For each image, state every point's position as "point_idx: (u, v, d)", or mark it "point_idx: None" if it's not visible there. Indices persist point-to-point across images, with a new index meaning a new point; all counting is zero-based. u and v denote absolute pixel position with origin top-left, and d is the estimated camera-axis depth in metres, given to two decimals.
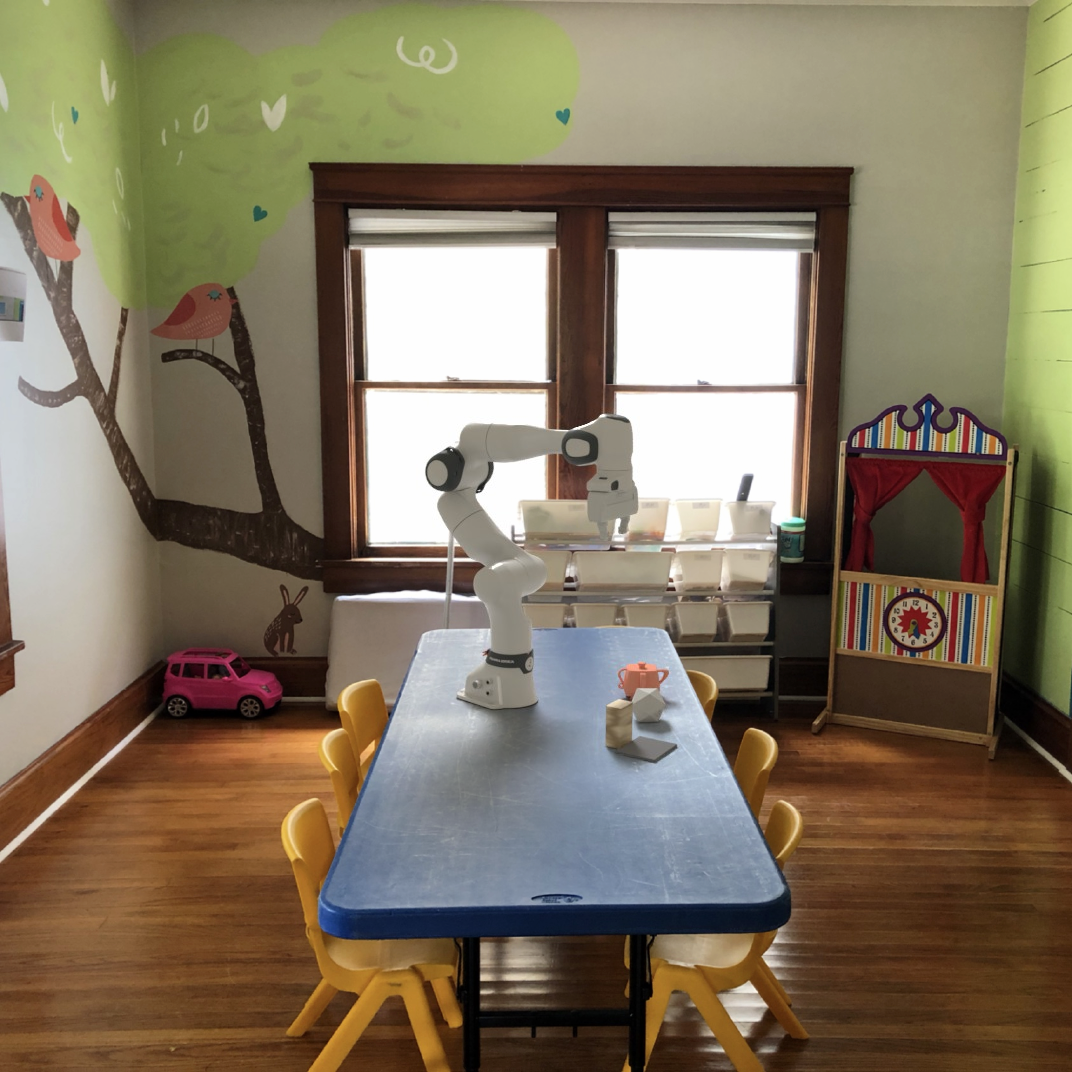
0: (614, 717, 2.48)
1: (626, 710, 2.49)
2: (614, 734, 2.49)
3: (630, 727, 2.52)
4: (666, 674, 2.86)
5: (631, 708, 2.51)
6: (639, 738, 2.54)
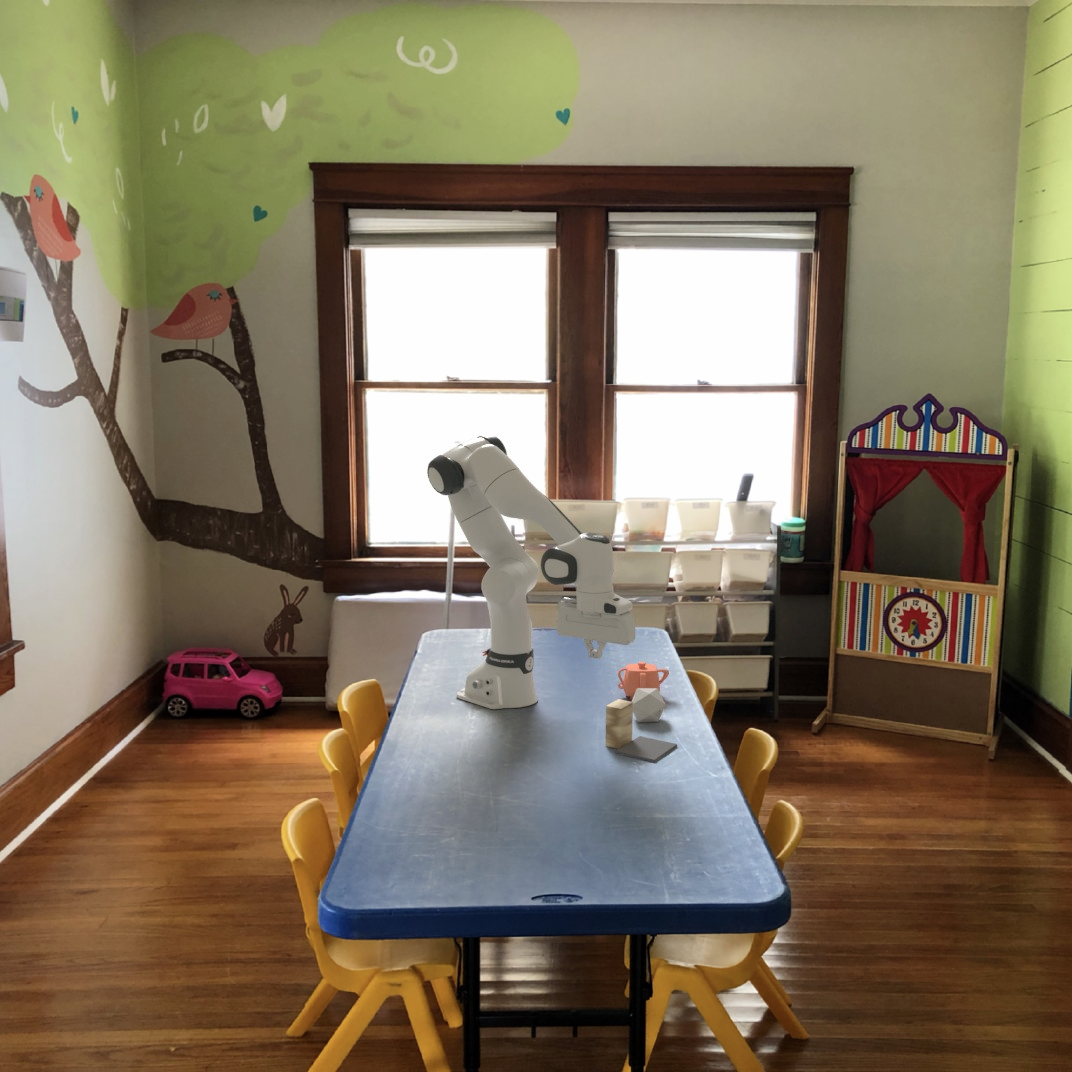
0: (614, 717, 2.48)
1: (626, 710, 2.49)
2: (614, 734, 2.49)
3: (630, 727, 2.52)
4: (666, 674, 2.86)
5: (631, 708, 2.51)
6: (639, 738, 2.54)
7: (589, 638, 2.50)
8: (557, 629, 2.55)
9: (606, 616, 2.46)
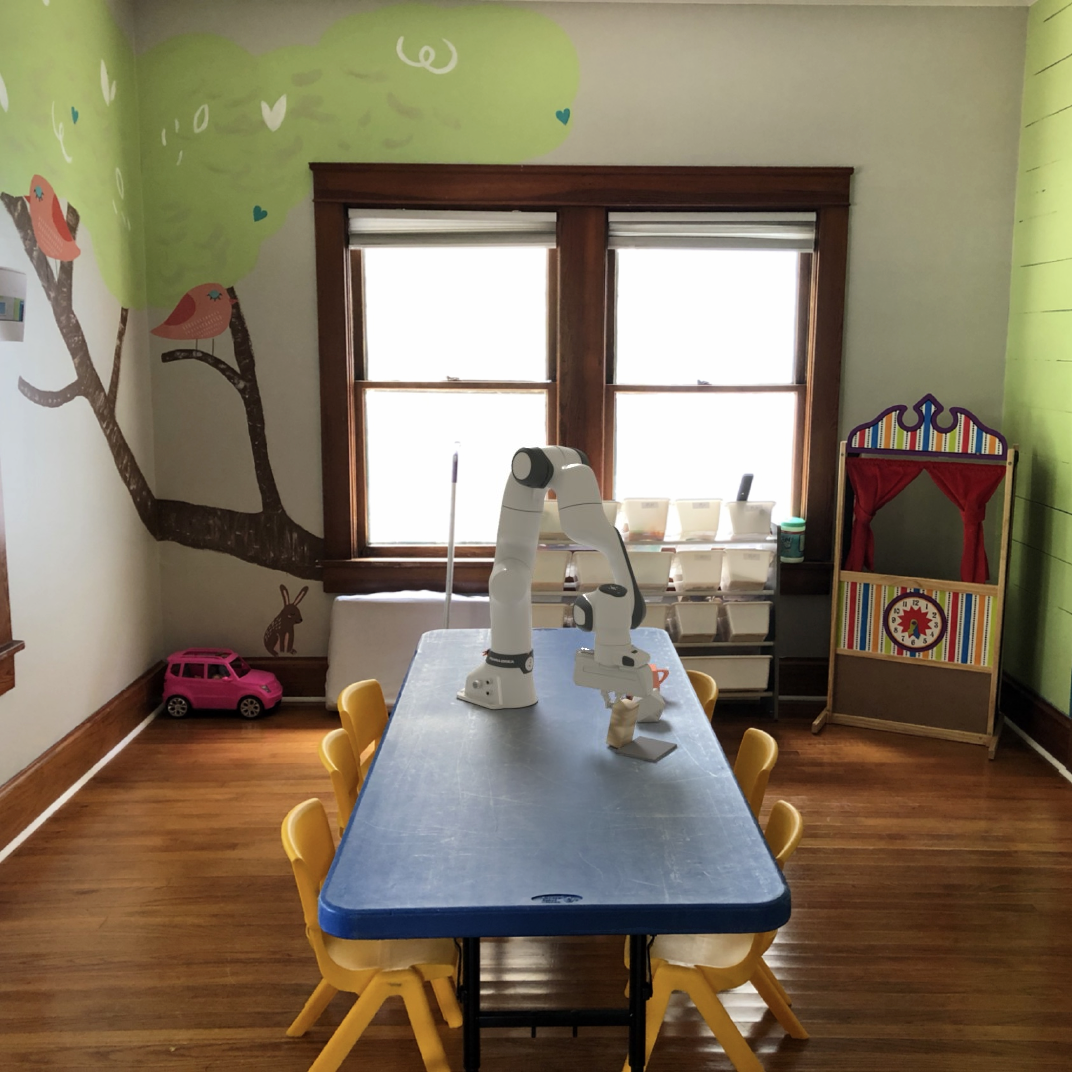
0: (619, 717, 2.47)
1: (632, 712, 2.49)
2: (617, 734, 2.48)
3: (633, 728, 2.52)
4: (666, 674, 2.86)
5: (636, 710, 2.51)
6: (639, 738, 2.54)
7: (606, 690, 2.50)
8: (574, 679, 2.55)
9: (624, 669, 2.45)
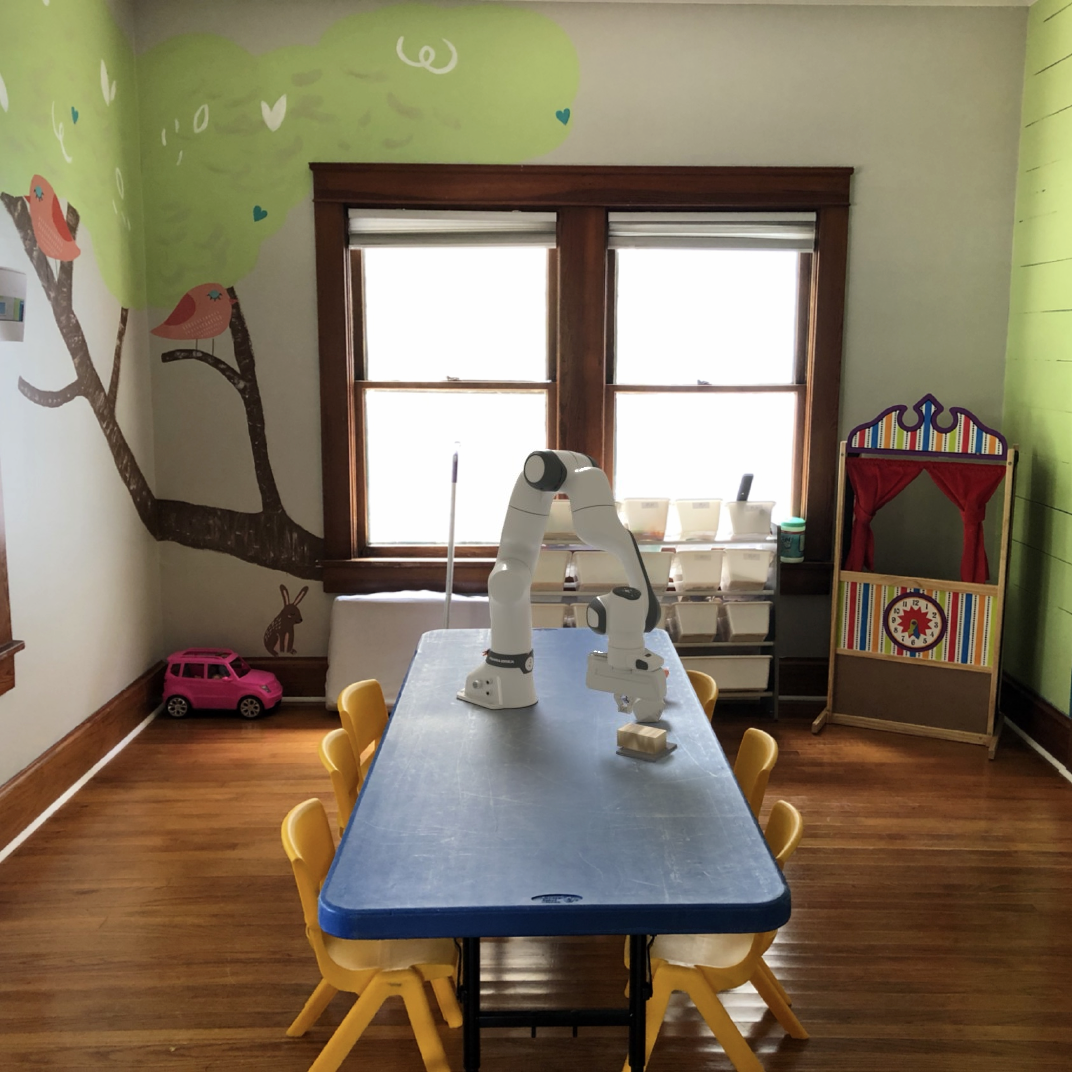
0: (645, 745, 2.45)
1: None
2: (629, 742, 2.47)
3: None
4: (666, 674, 2.86)
5: None
6: None
7: (619, 693, 2.48)
8: (586, 682, 2.53)
9: (637, 672, 2.43)
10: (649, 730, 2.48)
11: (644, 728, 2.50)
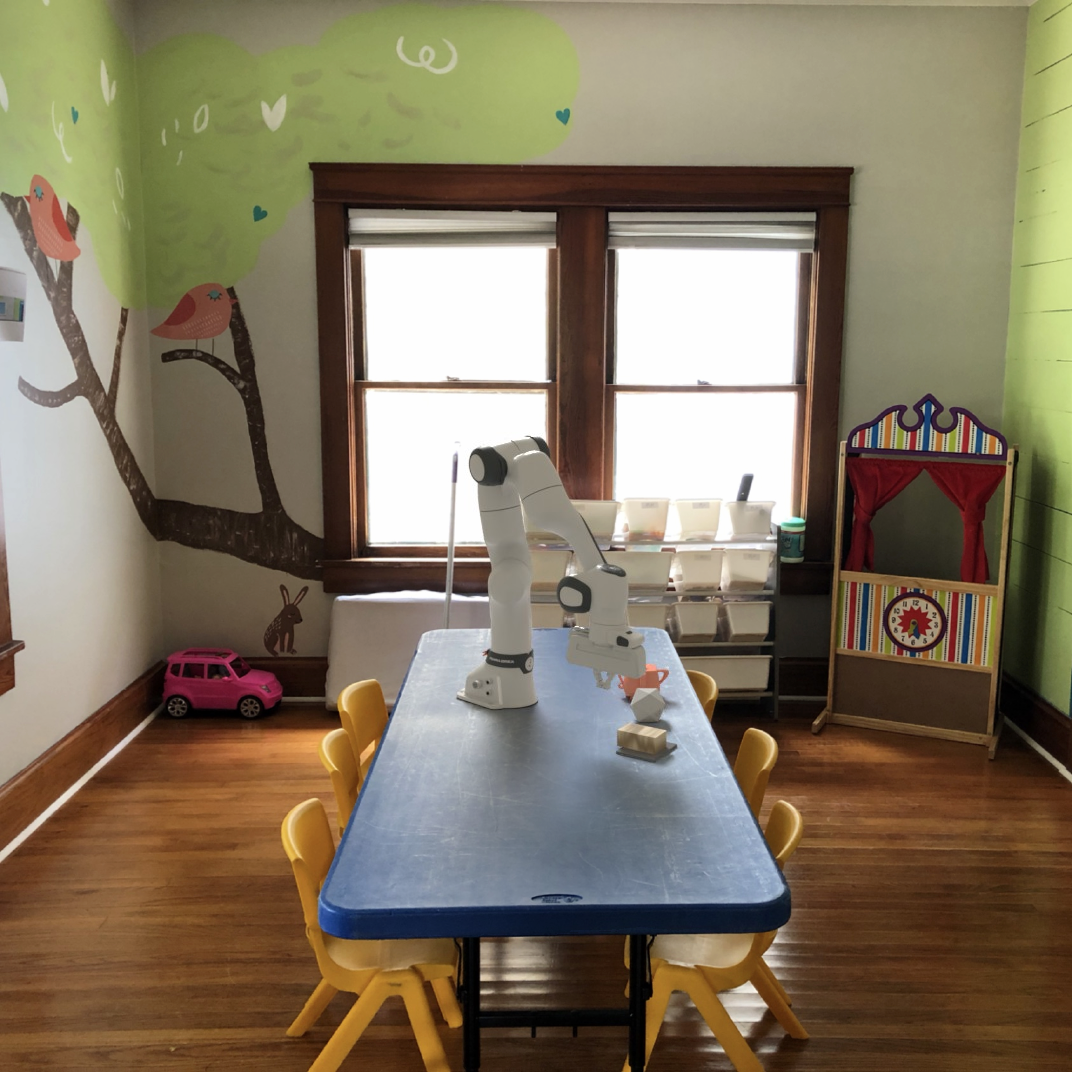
0: (645, 745, 2.45)
1: None
2: (629, 742, 2.47)
3: None
4: (666, 674, 2.86)
5: None
6: None
7: (599, 669, 2.51)
8: (567, 657, 2.55)
9: (618, 649, 2.46)
10: (649, 730, 2.48)
11: (644, 728, 2.50)
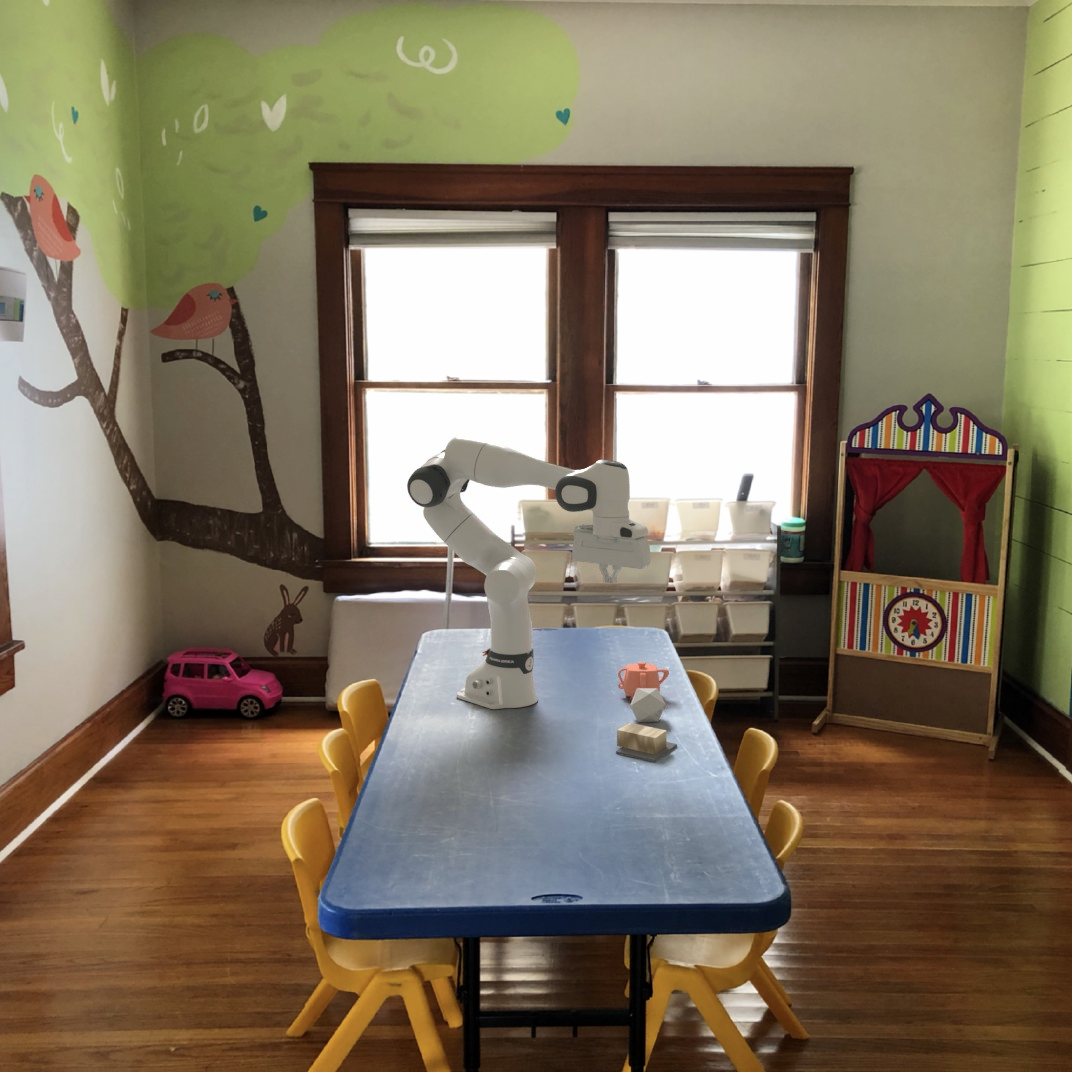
0: (645, 745, 2.45)
1: None
2: (629, 742, 2.47)
3: None
4: (666, 674, 2.86)
5: None
6: None
7: (604, 563, 2.56)
8: (573, 555, 2.60)
9: (622, 540, 2.51)
10: (649, 730, 2.48)
11: (644, 728, 2.50)
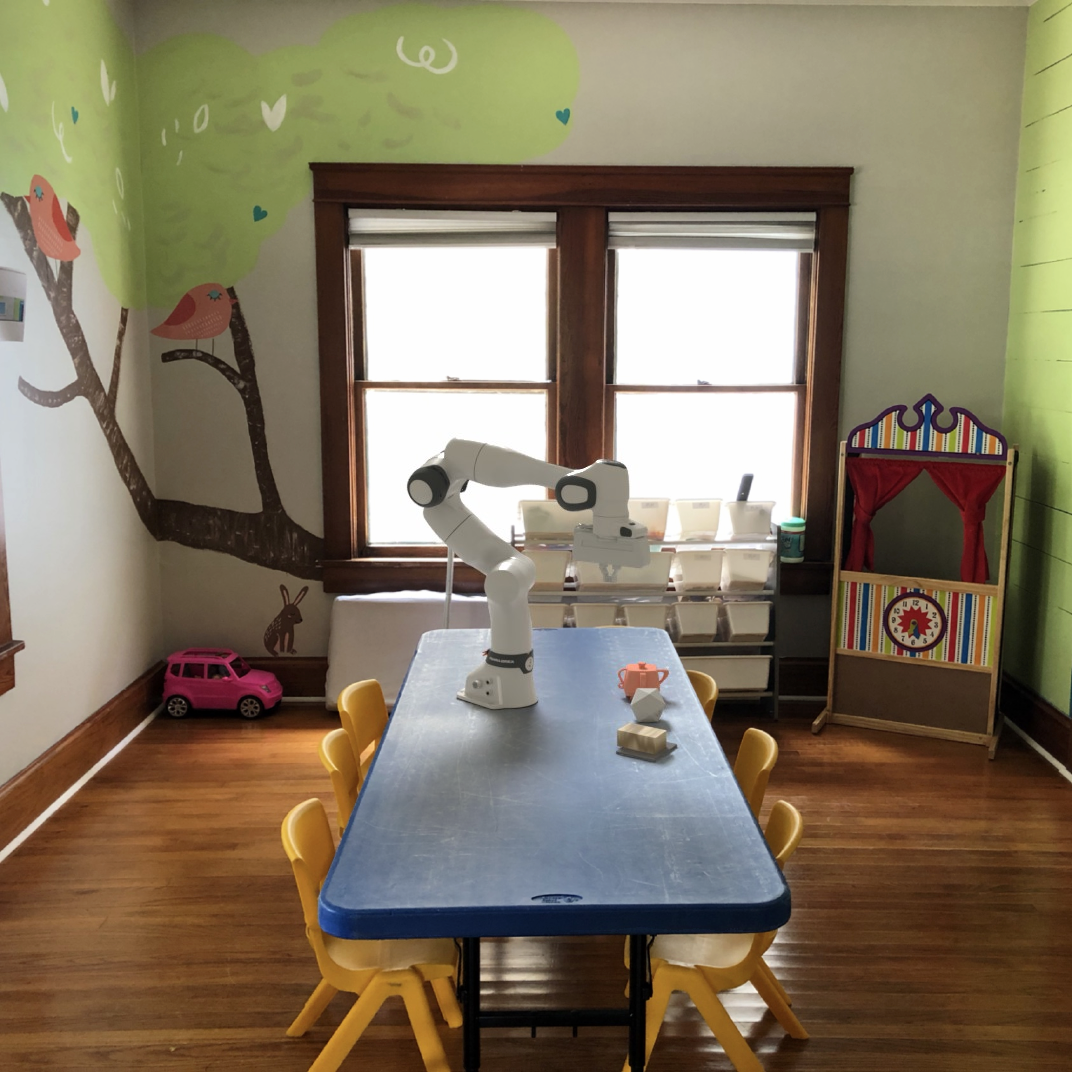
0: (645, 745, 2.45)
1: None
2: (629, 742, 2.47)
3: None
4: (666, 674, 2.86)
5: None
6: None
7: (604, 562, 2.56)
8: (573, 554, 2.60)
9: (622, 540, 2.51)
10: (649, 730, 2.48)
11: (644, 728, 2.50)
